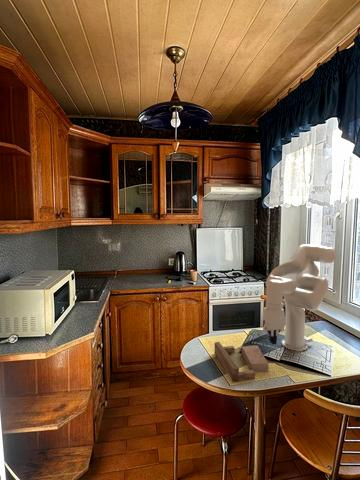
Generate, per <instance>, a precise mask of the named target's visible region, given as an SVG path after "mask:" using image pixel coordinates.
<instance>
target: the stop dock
mask: <svg viewBox="0 0 360 480" xmlns="http://www.w3.org/2000/svg"><path fill="white" fill-rule="evenodd" d="M231 354H235V347H234V345H230V346H223V345H222V343H221V342H220V341H217V342H214V355H215V356H216V358H217V359H218V361H219V363H220V364H221V366H222V367H223V369H224V370H225V372H226V374H227V375H228V377H229V378H230V380H231V381H232V383H239V382H245V381H246V382H247V381H251V380H255V379H256V373H255V372H254V370H250V369H249V370H244V371H243V370H242V371H240V368H239V366H238V365H237V364H236V363H235V361H234V360H233V358H232V357H231Z"/></svg>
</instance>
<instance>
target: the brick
mask: <svg viewBox="0 0 360 480" xmlns="http://www.w3.org/2000/svg"><path fill="white" fill-rule="evenodd" d="M241 356H242V357H243V359H244V362H245V363H246V364H247V366H248V368H249V370H254V372H255V374H257V373H269V372H270V371H269V370H270V367H269V366H270V363H269V362H268V359H267V358H265V356H264V354H263V352H262V351H261V349H260V348H259V346H258V345H245V346H241Z"/></svg>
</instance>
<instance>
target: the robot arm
mask: <svg viewBox="0 0 360 480" xmlns="http://www.w3.org/2000/svg"><path fill="white" fill-rule="evenodd" d="M336 259H337V252H336V250H335V248H334V247H329V246H325V245H320V244H319V245H318V244H317V245H316V244H300V245H299V246H298V247H297V249H296V250H295V251H294V253H293V254H292V256H291V257H290V259H289V260H288V261H286V262H284V263H282V264H280V265H278V266H275V267H274V268H273V269H272V271H271V272H270V273H269V274H268V276H267V277H266V279H265V280H266V282H265V285H266V293H265V294H266V297H265V303H266V304H265V307H264V308H263V312H262V317H261V327H262V332H264V333H267V334H268V335H269V336H268V337H269V338H268V340H269V343H271V344H272V345H277V342H278V336H279V334H280V333H281V332H283V331H284V332H285V333H284V339H283V340H282V341H281V345H282V347H284V346H285V347H286V348H285V347H284V348H285V349H287V348H288V349H287V350H289V349H291V350H290V351H292V350H296V351H295V352H304V351H303V350H305V351H306V349H307V350H308V343H311V342H313V341H314V340H313V338H312V337H309V338H308V336H306V335H305V333H306V313H305V311H304V309H305V310H308V311H316V310H318V309H319V307H320V306H321V304H322V302H323V300H324V299H325V297H326V295H327V292H328V289H329V282H328V278H326V277H324V276H321V275H319V274H320V271H319V267H318V266H317V265H316V263H315V262H318V263H325V264H332V263H334V262H335V260H336ZM297 274H298V276H297V277H296V278H295V280H294V279H292V278H289V277H286V276H290V275H297ZM284 308H285V309H284Z"/></svg>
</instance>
